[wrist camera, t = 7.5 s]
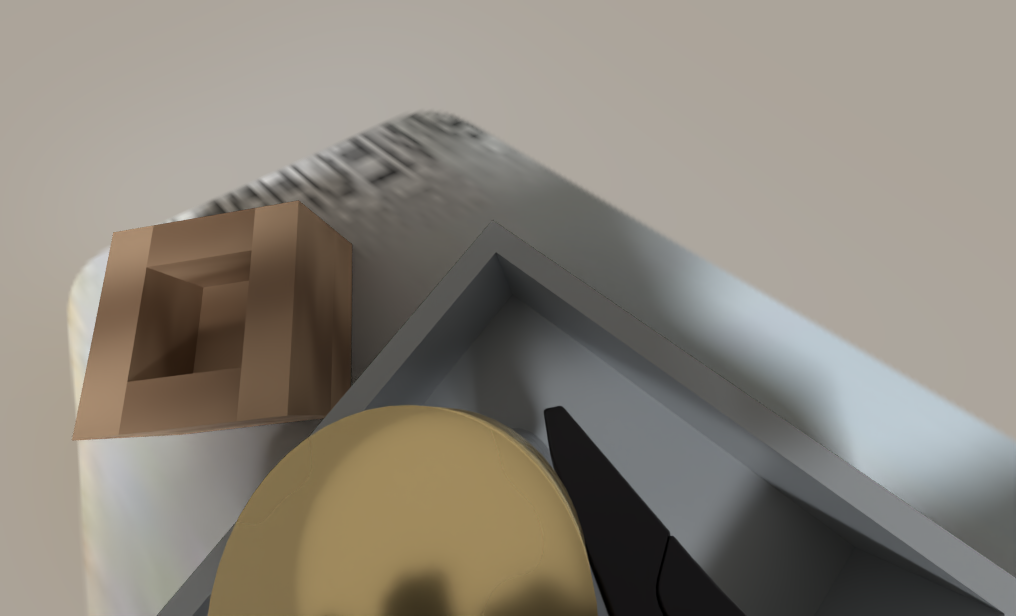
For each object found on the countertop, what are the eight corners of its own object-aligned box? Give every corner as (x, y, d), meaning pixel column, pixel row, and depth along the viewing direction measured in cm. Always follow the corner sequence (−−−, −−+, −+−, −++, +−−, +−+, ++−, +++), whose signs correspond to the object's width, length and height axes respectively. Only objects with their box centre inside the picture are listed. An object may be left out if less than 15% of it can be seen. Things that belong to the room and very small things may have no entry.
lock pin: (579, 531, 12) (638, 898, 3) (460, 541, 12) (181, 891, 3) (561, 406, 13) (565, 385, 4) (453, 419, 13) (226, 424, 4)
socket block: (350, 415, 16) (287, 415, 13) (180, 434, 17) (71, 440, 13) (351, 244, 19) (298, 200, 15) (201, 268, 19) (113, 232, 16)
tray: (878, 538, 13) (1064, 610, 8) (596, 1017, 11) (624, 1484, 6) (511, 274, 17) (492, 219, 12) (257, 583, 15) (117, 661, 10)
